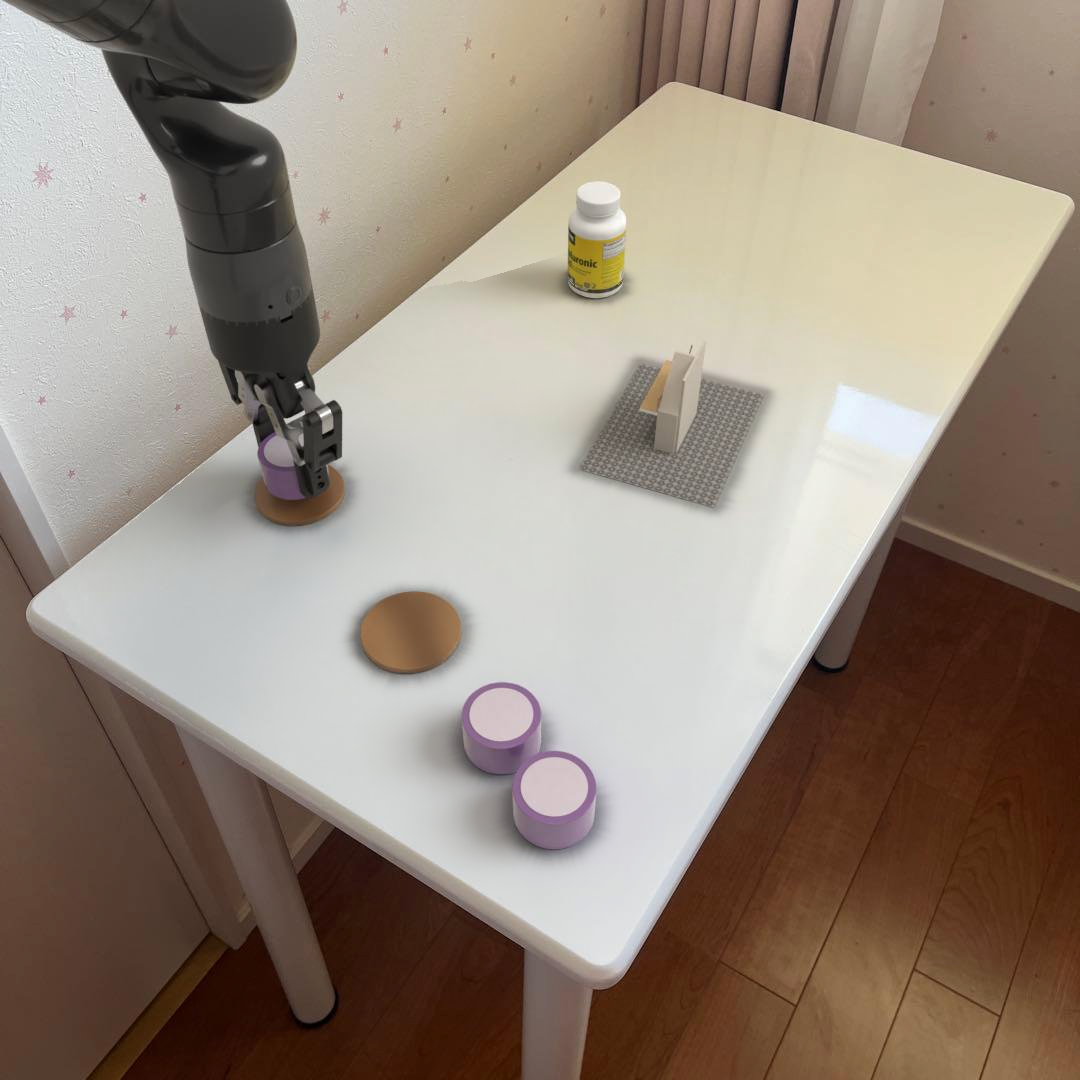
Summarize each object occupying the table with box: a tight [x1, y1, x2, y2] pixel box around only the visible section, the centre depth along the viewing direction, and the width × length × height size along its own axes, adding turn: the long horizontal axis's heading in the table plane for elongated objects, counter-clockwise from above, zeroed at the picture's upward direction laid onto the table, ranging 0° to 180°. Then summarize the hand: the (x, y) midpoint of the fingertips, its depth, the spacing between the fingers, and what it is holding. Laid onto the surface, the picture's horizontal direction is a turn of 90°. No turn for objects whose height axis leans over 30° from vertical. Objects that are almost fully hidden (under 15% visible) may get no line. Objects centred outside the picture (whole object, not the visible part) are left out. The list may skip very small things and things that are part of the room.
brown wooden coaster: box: [359, 590, 462, 675], centre depth 77 cm, size 7×7×1 cm
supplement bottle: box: [567, 180, 628, 299], centre depth 103 cm, size 5×5×10 cm
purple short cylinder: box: [256, 432, 329, 500], centre depth 85 cm, size 5×5×3 cm
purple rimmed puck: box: [511, 750, 597, 850], centre depth 67 cm, size 5×5×3 cm
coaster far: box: [253, 464, 346, 527], centre depth 87 cm, size 7×7×1 cm
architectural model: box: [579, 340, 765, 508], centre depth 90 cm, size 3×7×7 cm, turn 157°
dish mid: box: [460, 681, 542, 775], centre depth 70 cm, size 5×5×3 cm
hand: (295, 472), depth 85 cm, fingers closed on purple short cylinder, 5 cm apart
